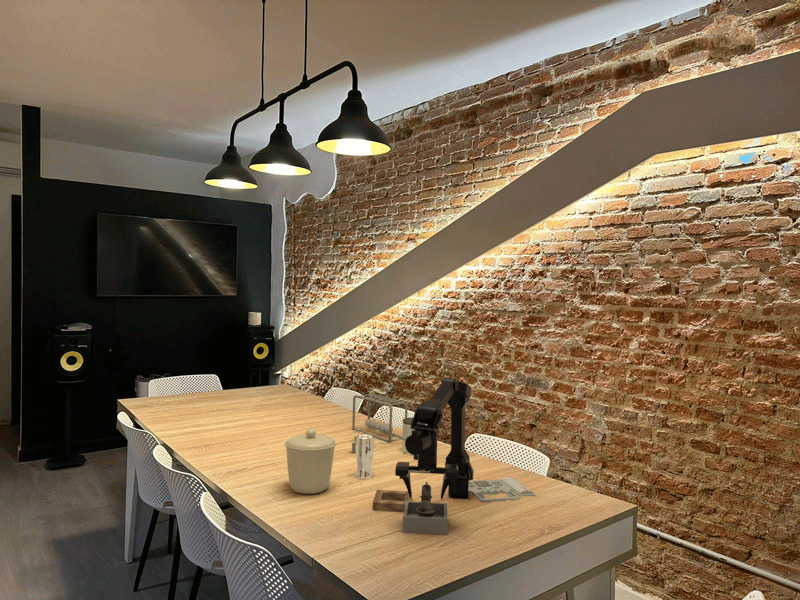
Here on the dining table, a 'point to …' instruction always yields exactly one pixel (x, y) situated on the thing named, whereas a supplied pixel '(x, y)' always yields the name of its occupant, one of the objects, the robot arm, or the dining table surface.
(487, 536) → the dining table surface
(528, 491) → the grey cutout plate
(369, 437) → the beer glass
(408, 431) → the coffee can
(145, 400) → the dining table surface
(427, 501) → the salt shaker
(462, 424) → the robot arm
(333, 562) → the dining table surface
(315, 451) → the canister
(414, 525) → the bin
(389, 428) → the newton's cradle
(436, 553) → the dining table surface
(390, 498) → the socket block
